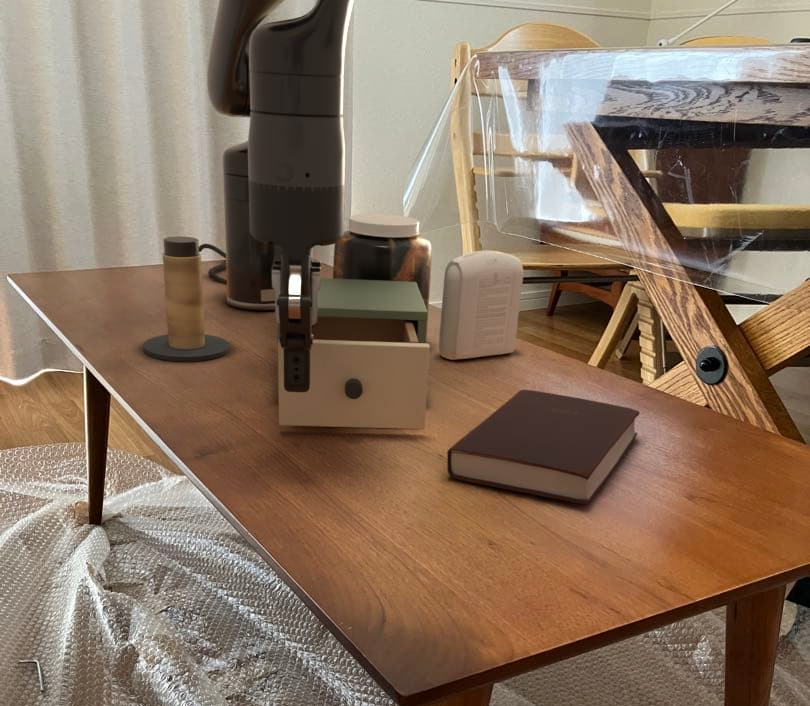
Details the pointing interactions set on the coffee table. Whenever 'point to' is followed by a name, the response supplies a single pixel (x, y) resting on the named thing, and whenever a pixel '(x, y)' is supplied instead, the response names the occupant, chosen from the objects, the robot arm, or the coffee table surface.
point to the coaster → (163, 351)
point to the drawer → (360, 376)
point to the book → (545, 446)
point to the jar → (384, 252)
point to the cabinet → (371, 303)
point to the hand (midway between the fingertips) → (297, 389)
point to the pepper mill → (183, 293)
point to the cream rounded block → (480, 305)
